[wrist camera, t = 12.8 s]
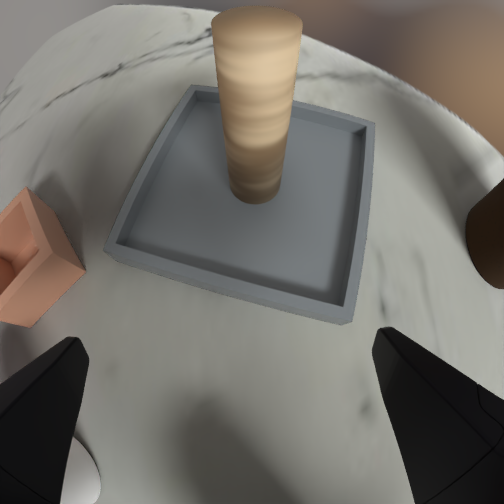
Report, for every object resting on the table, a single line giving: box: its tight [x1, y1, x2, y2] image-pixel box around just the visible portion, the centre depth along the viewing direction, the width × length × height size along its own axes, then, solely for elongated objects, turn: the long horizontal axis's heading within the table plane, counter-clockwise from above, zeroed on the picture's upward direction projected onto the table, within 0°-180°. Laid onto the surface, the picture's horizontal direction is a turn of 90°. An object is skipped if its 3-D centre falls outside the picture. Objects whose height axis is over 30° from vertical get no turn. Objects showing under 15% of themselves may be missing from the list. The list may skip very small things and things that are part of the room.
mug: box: [60, 437, 101, 504], centre depth 11 cm, size 12×8×10 cm
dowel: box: [211, 6, 303, 204], centre depth 16 cm, size 4×4×14 cm
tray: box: [103, 85, 375, 325], centre depth 23 cm, size 18×18×2 cm
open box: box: [0, 187, 86, 328], centre depth 19 cm, size 8×8×5 cm
